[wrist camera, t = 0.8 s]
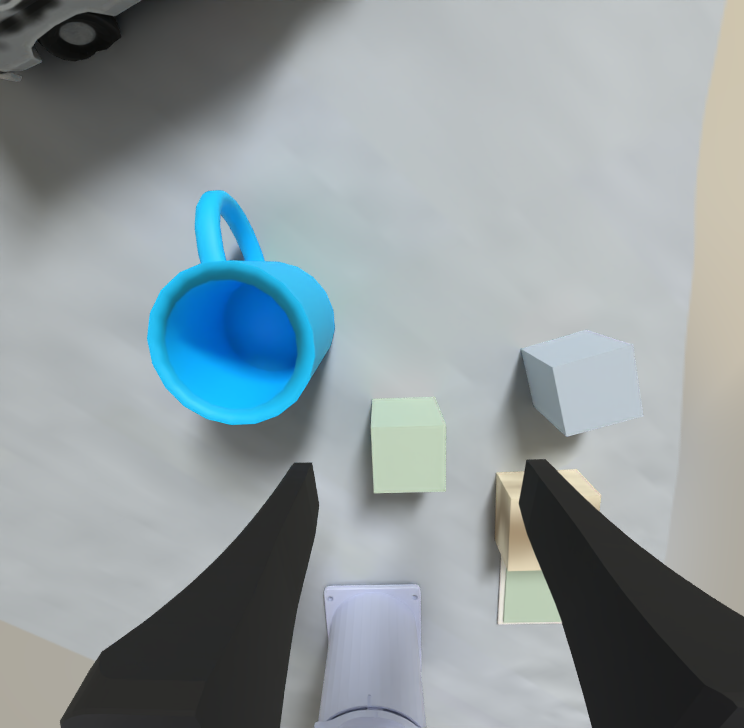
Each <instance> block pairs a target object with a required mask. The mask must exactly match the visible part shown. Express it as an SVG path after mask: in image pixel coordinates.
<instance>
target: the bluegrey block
mask: <svg viewBox="0 0 744 728" xmlns="http://www.w3.org/2000/svg"><path fill="white" fill-rule="evenodd" d="M521 351H522V356H523V360H524V365H525V370H526V374H527V379H528V383H529V388H530V392H531V397H532V401H533V406H534V407H535V408H536V409H537V410H538V411H539V412H540V413H541V414H542V415H543V416H544V417H546V418H547V419H548V420H549V421H550V422H551V423H552V424H553V425H554V426H555V427H556V428H557V429H559V430H560V431H561V432H562V433H563V434H564V435H565V436H566V437H568V436H572V435H575V434H579V433H583V432H587V431H590V430H594V429H598V428H602V427H605V426H609V425H613V424H617V423H620V422H624V421H628V420H632V419H635V418H639V417H643V409H642V402H641V395H640V388H639V381H638V374H637V368H636V361H635V354H634V347H633V344H630V343H627V342H624V341H621V340H617V339H614V338H611V337H608V336H605V335H601V334H598V333H595V332H592V331H589V330H583V331H580V332H576V333H573V334H569V335H566V336H563V337H559V338H556V339H552V340H549V341H546V342H542V343H539V344H535V345H532V346H528V347H525V348H522V349H521Z"/></svg>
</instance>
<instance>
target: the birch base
mask: <svg viewBox="0 0 744 728" xmlns="http://www.w3.org/2000/svg"><path fill="white" fill-rule="evenodd" d="M557 471H558V472H559V473H560V474H561V475H562V476H563V477H564V478H565V479H566V480H567V481H568V482H569V483H570V484H571V485H572V486H573V487H574V488H575V489H576V490H577V491H578V492H579V493H580V494H581V495H582V496H583V497H584V498H585V499H586V500H587V501H589V502H590V503H591V504H592V505H593V506H594V507H595V508H596V509H597V510H598V511H600V502H601V494H600V493H599V492H598V491H597V490H596V489H595V488H594V487H593V486H592V485H591V484H590V483H589V482H588V481H587V480H586V479H585V478H584V477H583V476H582V474H581V473H580V472H579V471H578V470H577V469H572V470H557ZM523 476H524V471H523V472H499V473H497V474H496V509H495V541H496V544H497V546H498V549H499V551H500V553H501V556H502V558H503V561H504V563H505V566H506V568H507V570H508V571H536V570H541V568H540V566H539V563H538V561H537V558H536V556H535V553H534V551H533V548H532V546H531V543H530V541H529V538H528V536H527V533H526V529H525V526H524V522H523V519H522V515H521V511H520V507H519V498H520V493H521V487H522V482H523Z"/></svg>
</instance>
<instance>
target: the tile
mask: <svg viewBox="0 0 744 728" xmlns="http://www.w3.org/2000/svg"><path fill="white" fill-rule="evenodd" d="M554 623H562V621H561V618H560V616H559V613H558V610H557V607H556V605H555V602H554V600H553V597H552V595H551V592H550V590H549V587H548V585H547V583H546V580H545V578H544V575H543V573H542V570H536V571H508V570H507V568H506V566H505V563H504V561H503V558H502V556H501V565H500V584H499V604H498V624H554Z"/></svg>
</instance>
